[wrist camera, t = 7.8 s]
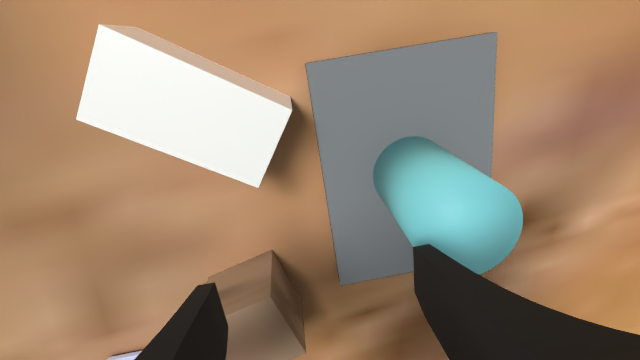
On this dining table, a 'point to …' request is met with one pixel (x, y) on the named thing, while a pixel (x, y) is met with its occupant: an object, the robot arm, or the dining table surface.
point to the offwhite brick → (182, 103)
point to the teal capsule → (447, 203)
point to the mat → (395, 135)
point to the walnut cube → (261, 310)
